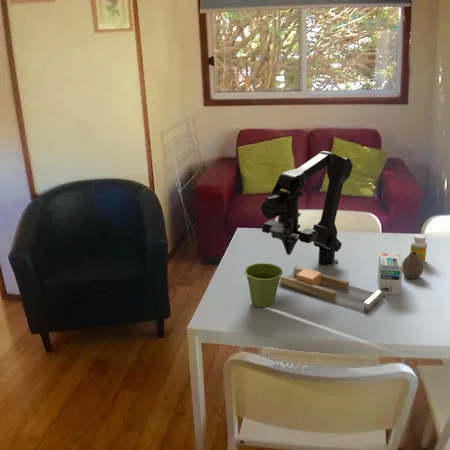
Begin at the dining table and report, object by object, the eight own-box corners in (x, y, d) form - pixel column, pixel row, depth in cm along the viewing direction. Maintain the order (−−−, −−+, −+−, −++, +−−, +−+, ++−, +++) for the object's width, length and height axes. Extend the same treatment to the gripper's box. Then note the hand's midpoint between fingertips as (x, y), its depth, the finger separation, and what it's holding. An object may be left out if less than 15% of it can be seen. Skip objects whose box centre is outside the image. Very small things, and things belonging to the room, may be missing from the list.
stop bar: (377, 296, 171) (377, 289, 170) (381, 298, 170) (382, 291, 169) (363, 309, 164) (364, 302, 163) (368, 311, 163) (368, 303, 162)
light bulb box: (400, 297, 172) (403, 266, 168) (378, 295, 173) (381, 265, 170) (397, 282, 182) (400, 252, 178) (376, 280, 183) (379, 251, 179)
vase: (423, 274, 187) (425, 251, 184) (420, 282, 181) (423, 258, 178) (402, 270, 190) (404, 248, 187) (399, 279, 184) (401, 255, 181)
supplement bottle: (408, 262, 196) (411, 237, 193) (410, 256, 201) (412, 232, 197) (424, 264, 194) (427, 239, 191) (425, 258, 199) (428, 234, 195)
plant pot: (271, 315, 163) (271, 282, 159) (238, 306, 169) (237, 274, 165) (288, 299, 172) (289, 267, 168) (256, 290, 178) (255, 260, 174)
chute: (296, 272, 191) (296, 263, 190) (385, 298, 171) (386, 289, 170) (274, 287, 180) (274, 278, 179) (366, 316, 161) (367, 307, 160)
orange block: (305, 278, 184) (305, 268, 183) (320, 283, 180) (321, 272, 179) (296, 285, 180) (296, 274, 178) (312, 290, 176) (312, 279, 175)
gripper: (252, 212, 176) (252, 256, 181) (301, 224, 165) (300, 269, 170) (271, 203, 184) (270, 245, 189) (319, 213, 173) (317, 258, 178)
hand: (288, 254), depth 182 cm, fingers closed
